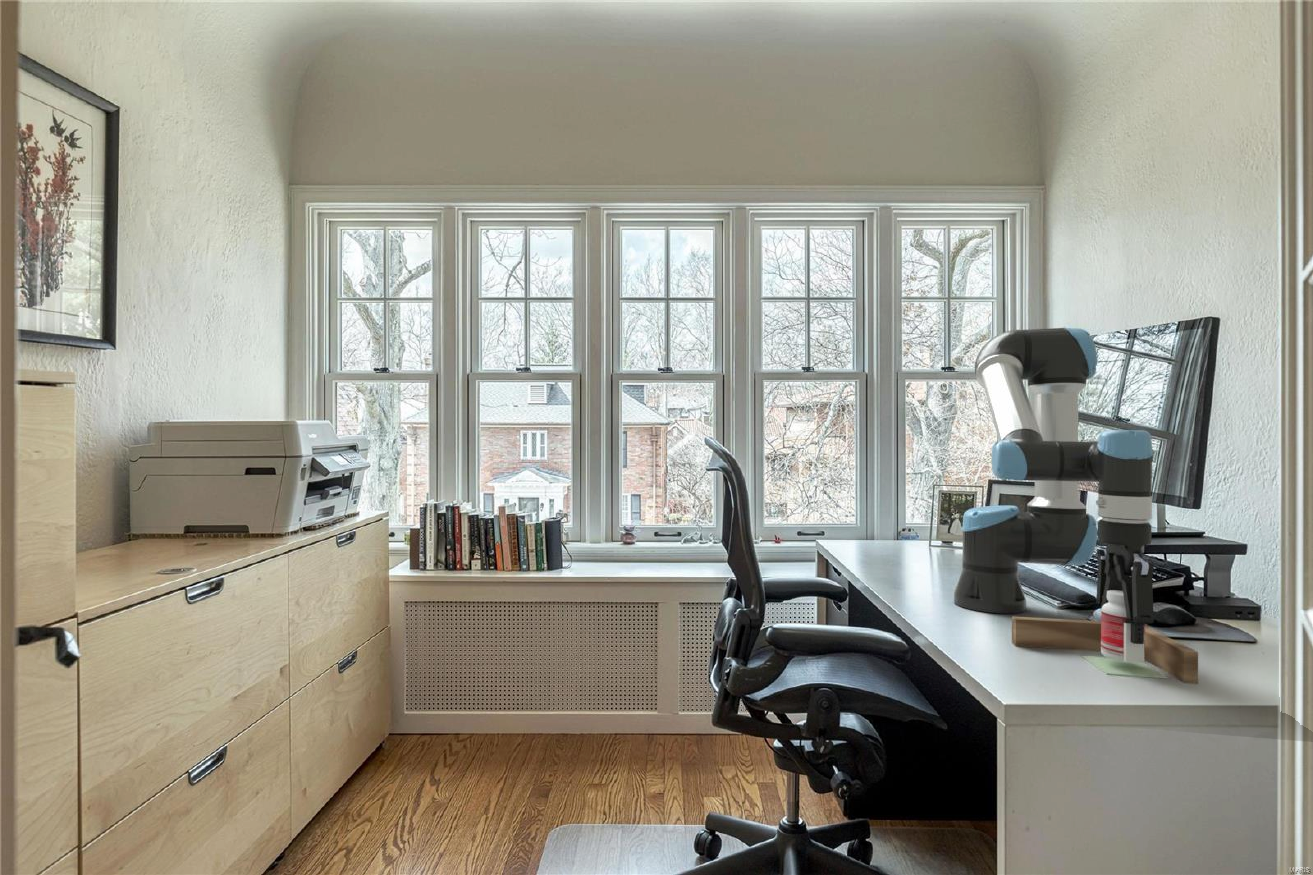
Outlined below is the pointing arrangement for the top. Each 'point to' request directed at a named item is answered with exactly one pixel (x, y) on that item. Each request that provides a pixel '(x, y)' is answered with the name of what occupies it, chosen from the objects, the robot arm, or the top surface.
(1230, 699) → the top surface
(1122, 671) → the pad
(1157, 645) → the corner barrier
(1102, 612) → the pill bottle
